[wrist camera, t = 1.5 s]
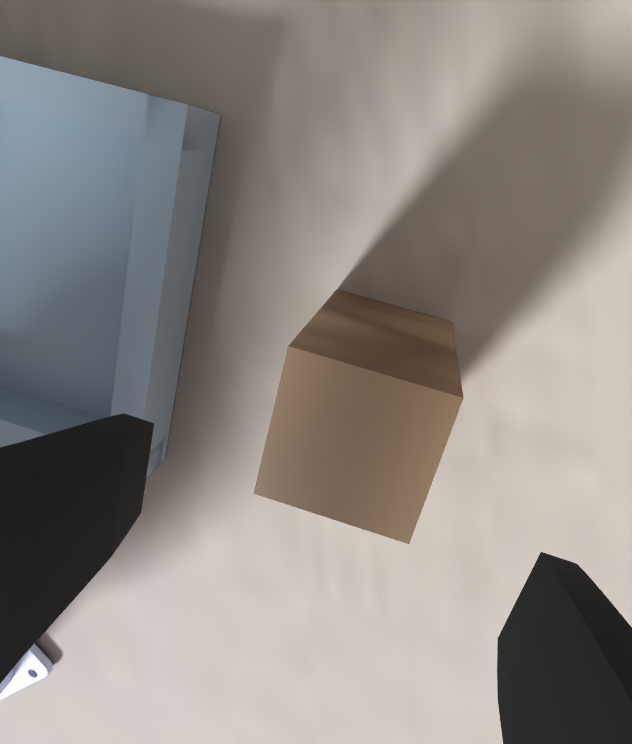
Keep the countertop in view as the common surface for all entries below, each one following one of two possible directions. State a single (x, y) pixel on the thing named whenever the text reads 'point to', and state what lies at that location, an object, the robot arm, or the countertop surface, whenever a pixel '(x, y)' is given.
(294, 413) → the tan wooden block
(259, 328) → the countertop surface
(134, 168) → the blue shallow rectangular tray
